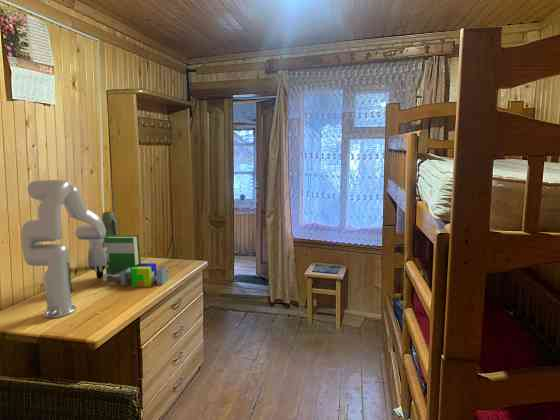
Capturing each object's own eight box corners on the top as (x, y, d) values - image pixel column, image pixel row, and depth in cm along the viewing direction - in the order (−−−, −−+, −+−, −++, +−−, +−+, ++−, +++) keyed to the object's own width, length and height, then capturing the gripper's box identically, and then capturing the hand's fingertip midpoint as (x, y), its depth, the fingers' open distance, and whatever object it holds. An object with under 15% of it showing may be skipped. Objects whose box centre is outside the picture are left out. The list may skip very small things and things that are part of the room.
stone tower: (116, 267, 244) (111, 213, 239) (100, 266, 246) (95, 212, 242) (125, 263, 252) (120, 211, 247) (109, 262, 255) (105, 210, 250)
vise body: (162, 284, 207) (161, 270, 206) (106, 286, 207) (105, 272, 205) (168, 278, 219) (167, 264, 218) (115, 280, 218) (114, 266, 217)
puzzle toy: (157, 280, 216) (155, 263, 214) (150, 286, 206) (148, 268, 204) (139, 280, 216) (138, 263, 215) (132, 286, 206) (130, 268, 205)
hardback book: (141, 274, 227) (138, 235, 223) (136, 278, 219) (132, 237, 216) (113, 274, 228) (110, 235, 225) (106, 278, 221) (103, 237, 218)
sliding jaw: (125, 285, 207) (124, 271, 206) (102, 286, 206) (101, 272, 205) (131, 280, 216) (130, 266, 215) (109, 281, 215) (108, 267, 214)
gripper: (113, 243, 212) (116, 275, 214) (86, 244, 211) (89, 276, 214) (108, 246, 204) (111, 279, 207) (79, 247, 204) (83, 280, 206)
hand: (100, 278), depth 210 cm, fingers closed
